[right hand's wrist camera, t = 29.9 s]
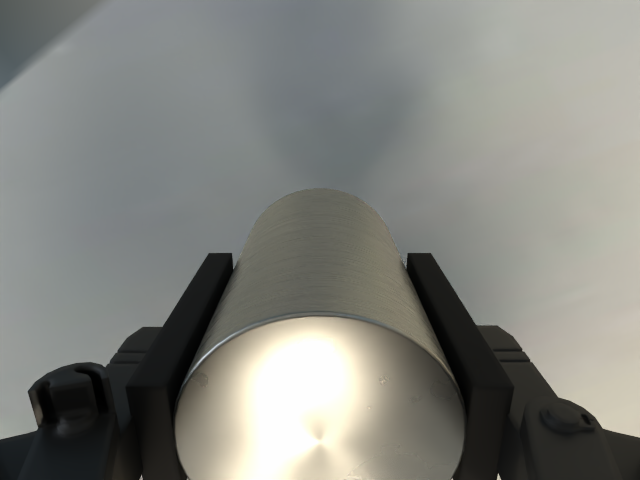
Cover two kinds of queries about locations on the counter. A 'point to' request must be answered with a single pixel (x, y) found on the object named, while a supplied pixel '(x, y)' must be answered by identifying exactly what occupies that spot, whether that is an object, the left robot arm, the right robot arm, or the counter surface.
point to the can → (319, 359)
